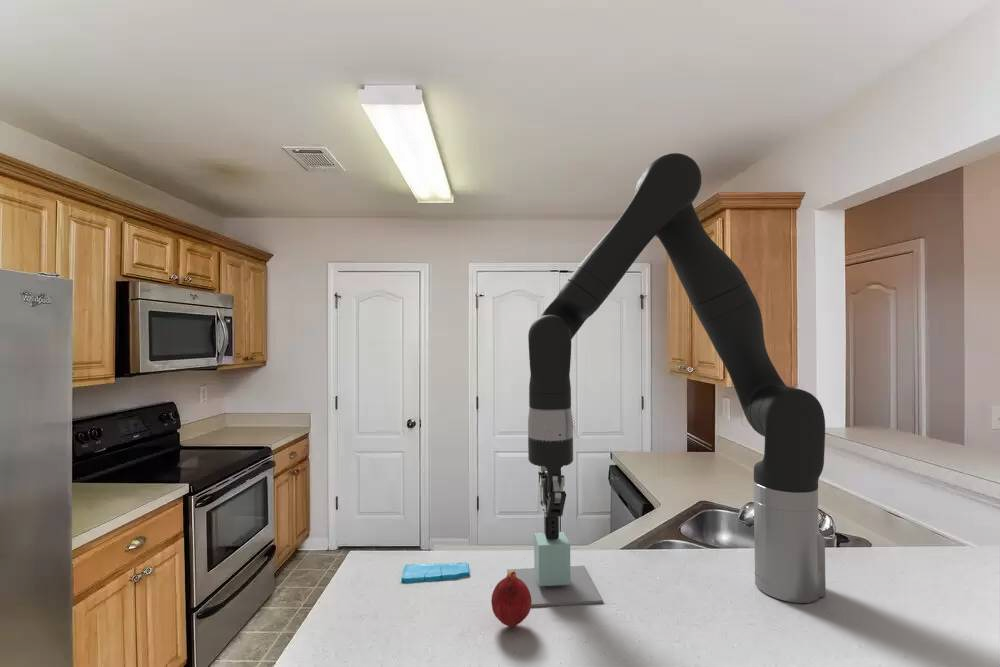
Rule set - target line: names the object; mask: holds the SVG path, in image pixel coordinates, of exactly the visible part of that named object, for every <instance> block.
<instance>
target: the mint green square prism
mask: <svg viewBox="0 0 1000 667" xmlns="http://www.w3.org/2000/svg"><path fill="white" fill-rule="evenodd" d="M533 551H534V552H533V557H534V558H533V560H534V564H533V565H534V567H533V568H534V571H535V575H536V578H537V581H538V584H539V586H551V585H571V573H570V566H571V543H570V541H569V539H568V537H567V535H566V533H565V532H564V531H559V537H558V539H547V538H546V536H545V534H544V532H534V533H533Z"/></svg>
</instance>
